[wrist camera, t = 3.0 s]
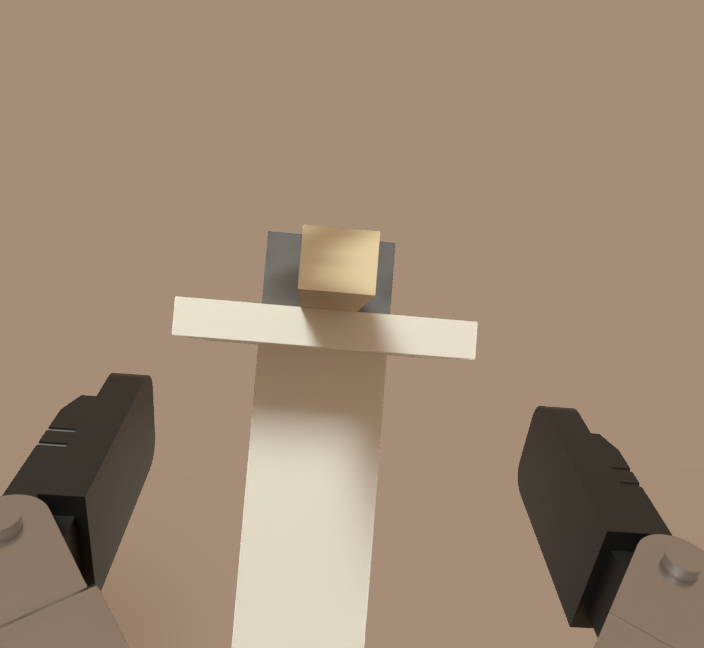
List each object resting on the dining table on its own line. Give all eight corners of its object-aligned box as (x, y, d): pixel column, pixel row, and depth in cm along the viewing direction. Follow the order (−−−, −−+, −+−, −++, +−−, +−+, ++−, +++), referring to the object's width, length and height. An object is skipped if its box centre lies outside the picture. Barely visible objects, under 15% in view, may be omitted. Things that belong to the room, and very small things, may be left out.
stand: (113, 943, 31) (175, 296, 33) (170, 769, 44) (213, 313, 46) (434, 949, 32) (477, 321, 34) (397, 777, 45) (430, 331, 47)
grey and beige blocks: (231, 283, 24) (243, 154, 24) (267, 317, 45) (273, 247, 45) (439, 301, 24) (448, 174, 25) (378, 326, 45) (383, 257, 46)
